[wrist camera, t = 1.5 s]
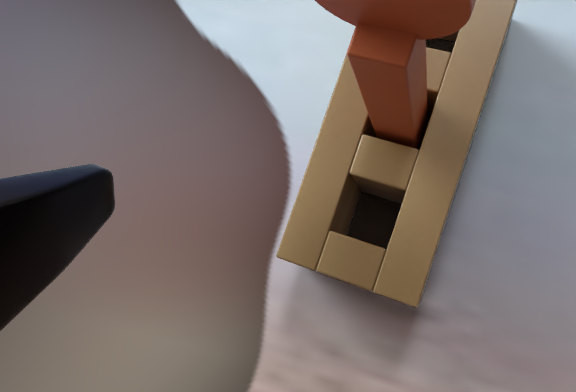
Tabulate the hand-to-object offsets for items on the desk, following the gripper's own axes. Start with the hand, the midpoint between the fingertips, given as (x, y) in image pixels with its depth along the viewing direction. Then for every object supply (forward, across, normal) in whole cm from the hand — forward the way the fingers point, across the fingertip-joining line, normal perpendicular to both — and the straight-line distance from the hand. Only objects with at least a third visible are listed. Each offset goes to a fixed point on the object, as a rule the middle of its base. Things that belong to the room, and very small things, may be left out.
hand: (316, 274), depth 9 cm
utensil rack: (+15, +1, +4) cm, 15 cm away
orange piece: (+15, +1, +4) cm, 15 cm away
